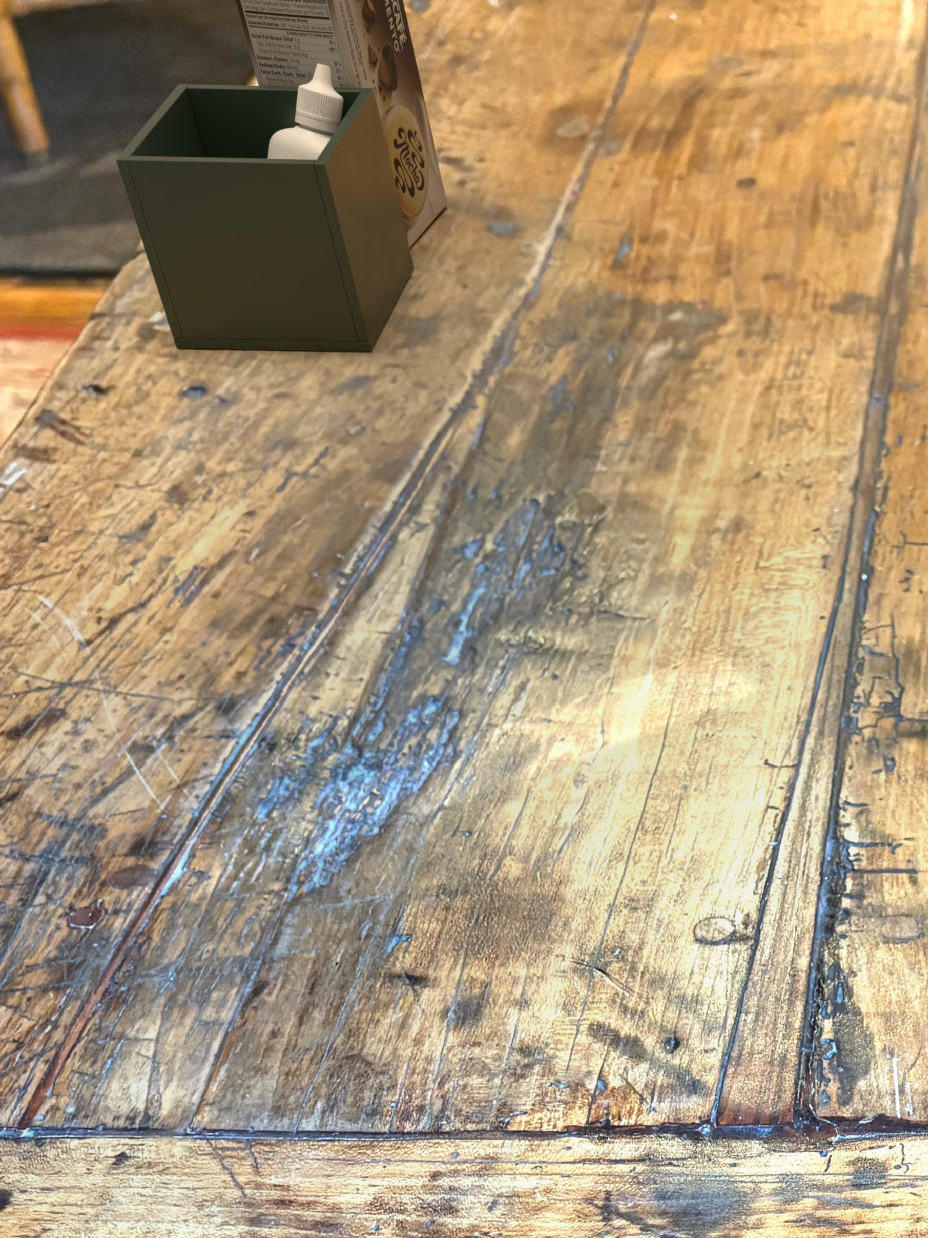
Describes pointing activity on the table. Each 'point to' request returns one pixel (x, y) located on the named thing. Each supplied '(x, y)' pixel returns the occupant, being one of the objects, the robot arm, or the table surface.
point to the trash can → (267, 222)
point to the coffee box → (356, 79)
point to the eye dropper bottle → (310, 120)
